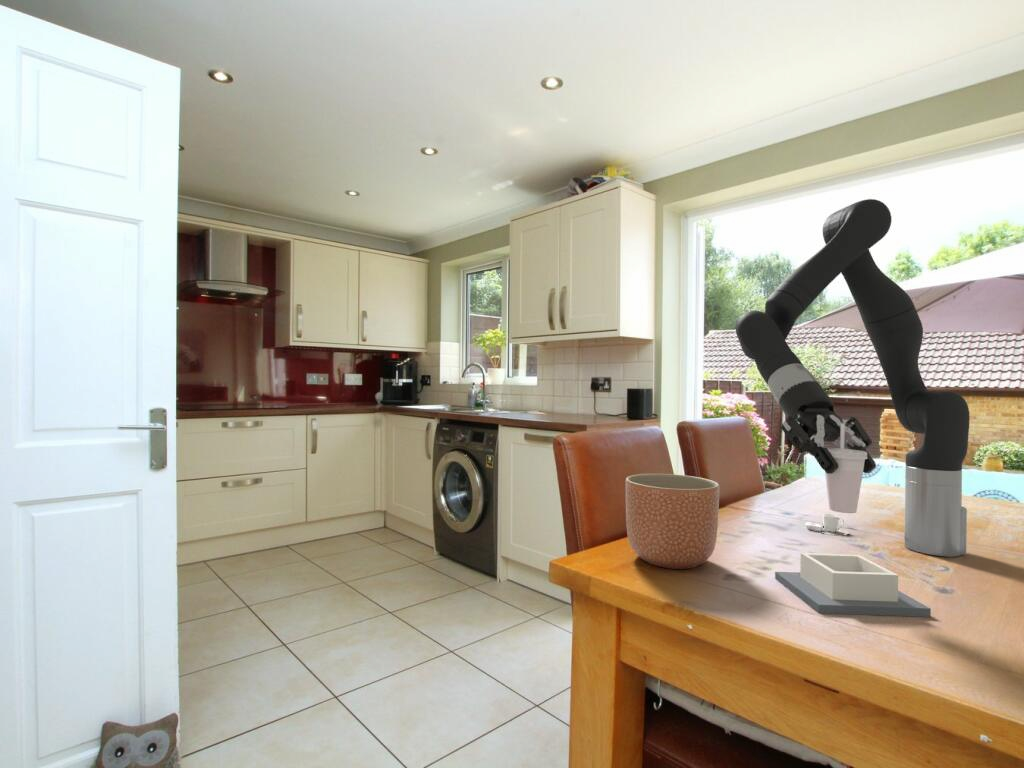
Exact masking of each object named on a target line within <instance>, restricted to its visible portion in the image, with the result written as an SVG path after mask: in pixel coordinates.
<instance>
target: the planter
mask: <svg viewBox="0 0 1024 768" xmlns="http://www.w3.org/2000/svg"><path fill="white" fill-rule="evenodd" d="M719 505H720V484H719V483H718V482H717V481H714V480H712V479H709V478H708V479H707V478H703V477H700V476H694V475H693V476H692V475H685V474H672V473H640V474H639V473H638V474H633V475H629V476H627V477H626V478H625V521H626V522H625V525H626V534H627V535H626V536H627V539H628V543H629V545H630V547H631V549H632V550H633V551H634V553H635V554H636V555H637V556H638V557H639V558H640V559H641V560H643V561H645V562H646V563H648V564H650V565H654V566H656V567H661V568H667V569H674V570H677V569H678V570H682V569H683V570H686V569H692V568H696V567H698V566H700V565H702V564H703V563H705V562H707V561H708V559H709V558H710V557H711V556H712V555H713V554H714V553H713V552H714V551H715V549H716V548H715V547H716V543H717V537H718V526H719V510H720V509H719V508H720V506H719Z"/></svg>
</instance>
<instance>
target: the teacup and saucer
mask: <svg viewBox="0 0 1024 768" xmlns="http://www.w3.org/2000/svg"><path fill="white" fill-rule="evenodd" d="M839 520H842V523H841V525H840V526H839V527H838V525H839ZM822 524H823V525H820V524H818V523H815V522H810V521H807V522H805V527H806V528H807V529H808V530H811V531H813V530H815V531H819V532H823V531H825V530H826V531H825V532H827V531H831V532H830V533H836V532H837V531H840V530H839V529H842V528H843V526H844V524H845V519H843V518H842V517H839V516H838V515H836V514H831V513H824V514H822ZM822 526H824V528H823V527H822ZM837 528H838V529H837ZM815 531H814V532H815ZM835 531H836V532H835Z"/></svg>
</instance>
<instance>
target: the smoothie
mask: <svg viewBox="0 0 1024 768" xmlns="http://www.w3.org/2000/svg"><path fill="white" fill-rule="evenodd" d="M844 427H845V424H843V423H841V426H840V437H839V440H840V448H839V447H835V448H829V447H826V448H827V449H828V451H829V452H830V454H831V455H832V456H833V458H834V459H835V461H836V462H837V464H838V468H837V469H836V470H835V471H834V472H833V473H832V474H827V473H826V472H825V471H824V474H825V475H824V476H825V482H826V484H825V485H826V492H827V498H828V499H827V500H828V507H829V511H832V512H836V513H842V514H856V513H857V510H858V504H859V498H860V494H861V493H860V491H861V486H862V480H863V474H864V472H863V469H864V462H865V459H867V452H868V451H867V452H865V451H860V450H852V449H844V436H845V434H844Z"/></svg>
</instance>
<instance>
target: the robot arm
mask: <svg viewBox="0 0 1024 768" xmlns="http://www.w3.org/2000/svg"><path fill="white" fill-rule="evenodd" d="M891 225H892V214H891V211H890V208H889V207H888V206H887V205H886V204H885V203H884V202H883V201H882V200H881V201H880V200H878V199H874V198H873V199H872V198H869V199H861V200H859V201H856V202H854V203H852V204H850V205H847V206H845V207H844V208H841V209H839V210H836V211H835V212H833V213H831V214H830V215H829V216H827V217H826V219H825V220H824V223H823V226H822V237H823V241H824V243H825V245H824V246H823V247H822V248H821V249H820V250H818V252H816V253H815V254H813V256H811V257H810V258H808V259H807V260H806V261H805V262H804V263H802V264H801V265H799V266H798V267H797V268H796V269H795V270H794V271H792V272H791V273H790V274H789V275H787V277H786V278H785V279H784V280H783V281H782V282H781V283H780V284H779V285H778V286H777V287H776V288H775V290H774V291H772V293H771V294H770V295H769V296H768V297H767V299H766V301H765V304H764V311H759V310H751V311H748V312H745V313H744V314H742V315H741V316H740V317H739V318H738V319H737V322H736V323H735V334H736V336H737V339H738V342H739V345H740V347H741V350H742V352H743V354H744V355H745V356H746V357H747V358H748V359H751V360H754V363H755V366H756V368H757V370H758V373H759V374H760V376H761V378H762V379H763V381H764V382H765V384H766V385H767V386H768V388H769V390H770V393H771V396H772V397H773V399H774V400H775V401H776V403H777V404H778V406H779V407H780V409H781V411H782V412H783V414H784V415H785V417H786V418H785V420H784V421H783V423H781V425H780V428H781V430H782V431H783V433H784V434H785V436H787V438H788V439H789V441H790V442H791V444H792V445H793V446H794V448H795V449H796V450H797V451H798V452H799V453H801V454H804V453H805V452H806V453H808V454H809V455H810V456H813V457H814V458H815V460H816V461H817V463H818V464H819V467H820V468H821V469H822V470H824V473H825V472H826V473H827V474H832V473H833V472H834V471H835V470H836V469H837V468H838V464H837V462H836V461H835V459H834V458H833V456H832V455H831V454H830V452H829V451H828V449H827V448H828V447H825V442H828V443H829V442H830V443H832V444H833V445H834V446H835V447H836V448H840V426H841V423H843V424H845V427H844V449H852V450H860V451H865V452H867V459H865V462H864V469H863V474H871V473H872V472H873V470H875V469H876V467H877V464H876V462H875V460H874V458H873V457H872V456H871V454H870V453H869V452H868V451H867V448H869V447H870V446H871V445H872V444H873V441H872V439H871V437H870V436H869V435H868V433H867V431H866V430H865V428H864V427H863V426H862V424H861V422H860V421H859V420H858V419H857V417H855V416H850V417H849V418H848V419H845V418H843V419H842V417H841V416H839V415H838V414H836V412H835V411H834V402H833V399H832V398H831V397H830V396H829V394H828V392H826V391H825V389H824V388H823V387H822V385H821V384H820V383H819V381H818V380H817V378H816V377H815V376H814V375H813V373H812V372H811V371H810V370H809V369H808V368H807V367H806V366H805V365H804V364H803V362H802V361H801V360H800V358H799V357H798V356H797V355H796V354H795V352H793V350H792V349H791V348H790V346H789V344H788V343H787V341H786V339H787V338H788V336H789V334H790V333H791V331H792V330H793V328H794V326H795V323H796V321H797V319H798V318H799V317H801V315H803V313H804V312H805V311H806V310H807V309H808V308H809V307H810V305H812V303H813V302H814V301H815V300H816V299H817V298H818V297H819V296H820V295H821V293H822V292H823V291H824V290H825V289H826V288H827V287H828V286H829V285H830V284H831V283H832V282H833V281H834V280H835V279H836V278H837V277H839V275H841V274H842V276H843V279H844V280H845V282H846V285H847V287H848V290H849V292H850V294H851V297H852V298H853V300H854V302H855V305H856V307H857V310H858V312H859V315H860V316H861V317H860V318H861V320H862V323H863V326H864V328H865V330H866V333H867V335H868V338H869V340H870V342H871V344H872V346H873V348H874V351H875V353H876V356H877V359H878V362H879V363H880V367H881V369H882V372H883V374H884V377H885V381H886V384H887V386H888V389H889V393H890V397H891V402H892V406H893V408H894V411H895V415H896V416H897V419H898V421H899V423H900V424H901V426H902V427H903V428H905V430H907V431H909V432H912V433H915V434H920V435H921V434H922V435H924V436H923V437H924V438H923V442H922V444H921V446H919V447H918V448H916V449H913V450H910V451H908V452H907V453H906V455H905V473H904V474H905V477H904V478H905V480H904V481H905V483H904V484H905V486H904V487H905V488H904V489H905V492H904V493H905V494H904V496H905V499H904V547H906V548H907V549H909V550H911V551H914V552H917V553H921V554H927V555H931V556H938V557H939V556H940V557H949V558H950V557H952V558H955V557H960V556H967V538H968V537H967V533H968V531H967V529H968V528H967V527H968V526H967V525H968V521H967V520H968V519H967V518H968V516H967V515H968V510H967V507H966V506H965V507H964V506H962V505H963V502H962V499H963V497H962V496H963V493H962V491H963V488H962V487H963V463H964V460H965V459H966V456H967V453H968V445H969V444H968V443H969V432H970V420H971V418H970V410H969V406H968V403H967V401H966V399H965V398H964V397H963V396H962V394H961V395H960V394H959V393H957V392H955V391H948V390H929V389H928V388H927V386H926V383H925V382H924V380H923V377H922V374H921V372H920V369H919V357H920V351H921V347H922V342H923V337H924V327H923V324H922V323H923V322H922V321H921V318H920V316H919V313H918V311H917V308H916V306H915V303H914V301H913V299H912V298H911V296H910V295H909V294H908V293H907V292H906V291H905V290H904V289H903V288H902V287H901V286H900V285H898V284H897V283H896V282H895V281H894V280H892V278H890V277H888V276H887V274H885V273H884V272H883V271H882V269H880V267H878V265H877V263H876V262H875V260H874V258H873V256H872V254H871V251H870V249H871V248H872V247H873V246H874V245H876V244H877V243H878V242H879V241H881V240H882V239H883V238H884V237H885V236H886V235H887V234H888V233H889V230H890V227H891ZM800 439H801V440H800ZM801 441H802V442H801ZM848 441H850V442H851V443H852V444H853V446H852V445H851V444H849V443H848Z"/></svg>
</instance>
